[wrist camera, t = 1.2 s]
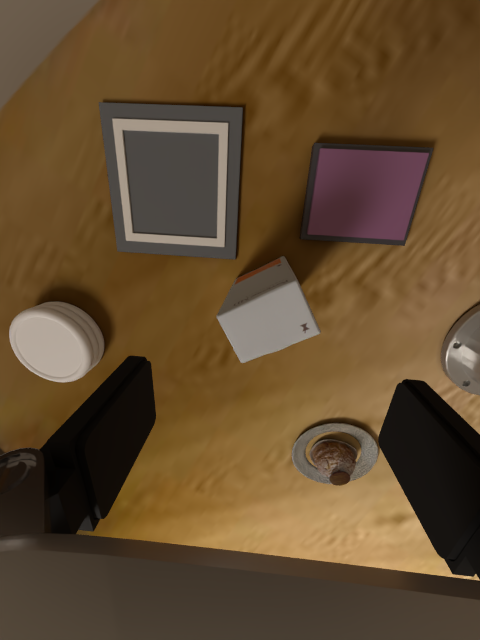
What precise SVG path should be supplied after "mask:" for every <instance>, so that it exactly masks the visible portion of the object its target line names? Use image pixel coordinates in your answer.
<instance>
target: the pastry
mask: <svg viewBox="0 0 480 640" xmlns="http://www.w3.org/2000/svg"><path fill="white" fill-rule="evenodd" d="M331 431H338V432H344V433H347V434H349V435H352V436H353V437H354V438H356V439H357V440H358V442H359V443H360V445H361V450H362V451H361V456H360V458H359V460H358V461H357V462H356V461H355V460H356V458H357V450H356V449H355V448H354V447H352V446H351V445H349V444H348V443H345V442H342V441H338V440H333V439H327V440H321V441H319V442H317V443H316V444H315V445H314V446H313V447H312V449H311V451H310V458H311V460H312V461H313V463H314V464H315V465H316V466H317V468H316V467H315V466H313V465H312V464H311V463H310V462H309V461H308V460H307V458H306V454H305V450H306V446H307V444H308V443H309V441H310V440H311V439H313V438H314V437H315V436H317V435H319V434H322V433H325V432H331ZM377 457H378V446H377V444H376V441H375V440H374V438H373V437H372V436H371V435H370V434H369V433H367V432H366V431H365V430H363V429H361V428H359V427H356V426H354V425H350V424H345V423H330V424H324V425H320V426H317V427H315V428H312V429H310V430H308V431H307V432H305V433H303V434H302V435H301V436H300V437H299V438H298V439H297V441H296V442H295V444H294V446H293V449H292V461H293V463H294V465H295V467H296V468H297V470H298V471H299V472H301V473H302V474H303V475H304V476H306V477H307V478H309V479H312V480H314V481H317V482H320V483H326V484H333V485H344V484H347V483H348V482H349V481H352V480H356V479H358V478H360V477H362V476H364V475H365V474H367V473H368V472H369V471H370V470H371V469H372V467H373V466H374V464H375V463H376V461H377Z"/></svg>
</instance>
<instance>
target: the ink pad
mask: <svg viewBox="0 0 480 640" xmlns="http://www.w3.org/2000/svg"><path fill="white" fill-rule="evenodd" d="M432 151H433V148H424V147H400V146H377V145H353V144H329V143H314V144H313V146H312V152H311V159H310V167H309V174H308V181H307V188H306V195H305V203H304V210H303V217H302V224H301V231H300V239H308V240H324V241H339V242H355V243H371V244H387V245H403V246H405V243H406V239H407V236H408V233H409V229H410V226H411V222H412V219H413V216H414V212H415V209H416V205H417V202H418V199H419V195H420V192H421V188H422V185H423V182H424V178H425V175H426V172H427V168H428V165H429V161H430V158H431V155H432Z"/></svg>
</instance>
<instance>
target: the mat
mask: <svg viewBox="0 0 480 640" xmlns="http://www.w3.org/2000/svg"><path fill="white" fill-rule="evenodd" d="M99 109H100V116H101V124H102V132H103V140H104V148H105V156H106V163H107V171H108V179H109V187H110V195H111V203H112V211H113V218H114V226H115V234H116V242H117V250H118V251H121V252H135V253H150V254H164V255H179V256H194V257H208V258H223V259H236V242H237V222H238V201H239V180H240V159H241V138H242V118H243V107H215V106H187V105H158V104H129V103H101V102H99Z"/></svg>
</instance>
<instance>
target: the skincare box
mask: <svg viewBox="0 0 480 640" xmlns="http://www.w3.org/2000/svg"><path fill="white" fill-rule="evenodd" d="M217 319H218V321H219V323H220V324H221V326H222V328H223V330H224V332H225V334H226V336H227V337H228V339H229V341H230V343H231V345H232V347H233V349H234V351H235V352H236V354H237V356H238V358H239V360H240V361H241V363H244V362H247V361H250V360H252V359H255V358H258V357H260V356H263V355H265V354H268V353H273V352H276V351H279V350H282V349H284V348H286V347H288V346H290V345H292V344H295V343H297V342H300V341H302V340H305V339H307V338H310V337H313V336H315V335H318V334H320V332H321V331H320V329H319V327H318V324H317V322H316V320H315V318H314V315H313V313H312V311H311V309H310V306H309V304H308V302H307V300H306V298H305V295H304V293H303V291H302V289H301V286H300V284H299V282H298V280H297V278H296V276H295V274H294V273H293V271H292V269H291V267H290V265H289V264H288V262H287V260H286V258H285V257H284V256H282V257H280V258H278V259H276V260H274V261H272V262H270V263H268V264H266V265H264V266H262V267H260V268H258V269H256V270H254V271H251V272H249V273H247V274H245V275H243V276H240V277H238V278H236V279H235V281H234V283H233V285H232V287H231V289H230V291H229V293H228V295H227V297H226V299H225V301H224V303H223V305H222V307H221V309H220V310H219V312H218V314H217Z"/></svg>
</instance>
